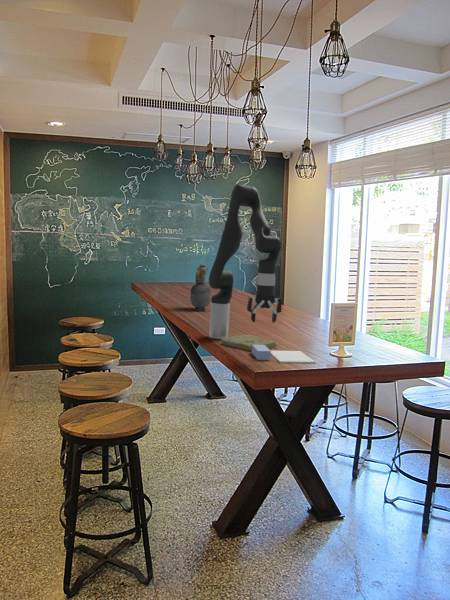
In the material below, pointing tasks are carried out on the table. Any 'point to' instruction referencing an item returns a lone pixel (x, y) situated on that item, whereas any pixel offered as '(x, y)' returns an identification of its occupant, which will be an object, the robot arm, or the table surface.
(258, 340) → the decorative tile
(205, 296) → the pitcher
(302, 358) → the mat
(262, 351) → the block
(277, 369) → the table surface
